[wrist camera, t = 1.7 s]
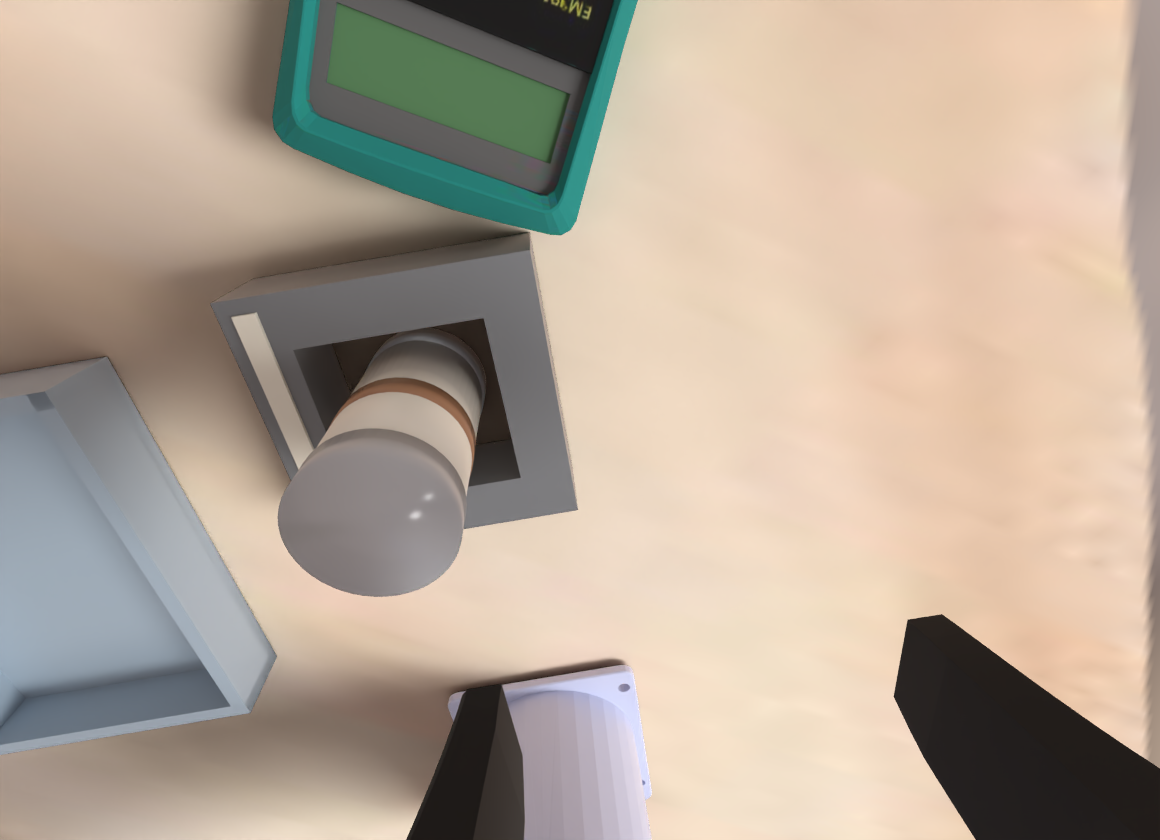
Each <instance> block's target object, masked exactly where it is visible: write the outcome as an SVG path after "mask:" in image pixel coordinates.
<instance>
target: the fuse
mask: <svg viewBox="0 0 1160 840" xmlns="http://www.w3.org/2000/svg"><path fill="white" fill-rule="evenodd" d="M485 393H486V377H485V372H484V369H483V366H482V364H481V361H480V359H479V358H478V356H477V355H476V353H475V352H474V351H473V350H472V349H471V348H470V347H469V346H468V345H467V344H466V343H465V342H464V341H462V340H461V339H459V338H458V337H456V336H454V335H452V334H450V333H448V332H445V331H442V330H438V329H433V328H421V329H415V330H409V331H403V332H400V333H398V334H396V335H394V336H392V337H391V338H389V339H388V340H387V341H386V342H385V343H384V344H383V345H382V346H381V347H380V348H379V350H378V351H377V352H376V354H375V355H374V357H373V358H372V360H371V361H370V363H369V365H368V367H367V368H366V371H365V374H364V375H363V377H362V378H361V380H360V381H359V383H358V385H357V386H356V388H355V389H354V391H353V392H352V394H351V395H350V397H349V398H348V399H347V400H346V401H345V403H344V404H343V405H342V407H341V408H340V410H339V411H338V413H337V414H336V416H335V417H334V419H333V420H332V422H331V424H330V426H329V428H328V430H327V432H326V433H325V435H324V437H323V438H322V440H321V441H320V443H319V444H318V446H317V447H316V448H315V449H314V450H313V451H312V452H311V453H310V454H309V456H308V457H307V458H306V460H305V461H304V462H303V464H302V465H301V467H300V468H299V470H298V472H297V473H296V475H295V476H294V478H293V479H292V481H291V482H290V484H289V485H288V487H287V488H286V490H285V492H284V494H283V496H282V498H281V501H280V505H279V510H278V526H279V531H280V535H281V538H282V540H283V543H284V545H285V547H286V548H287V550H288V552H289V553H290V555H291V556H292V557H293V559H294V560H295V561H296V562H297V563H298V564H299V565H300V566H301V567H302V568H303V569H304V570H305V571H306V572H308V573H309V574H310V575H311V576H313V577H315V578H316V579H318V580H319V581H321V582H323V583H325V584H327V585H329V586H331V587H333V588H336V589H339V590H341V591H345V592H348V593H352V594H357V595H363V596H374V597H383V596H395V595H401V594H405V593H409V592H412V591H415V590H418V589H420V588H422V587H425V586H427V585H429V584H430V583H432V582H433V581H435V580H436V579H438V578H439V577H440V576H441V575H442V574H444V572H445V571H446V570H447V569H448V568H449V567H450V566H451V564H452V563H453V561H454V560H455V558H456V556H457V554H458V551H459V548H460V544H461V540H462V533H463V527H464V521H465V515H466V507H467V502H466V496H467V490H468V484H469V478H470V475H471V471H472V467H473V461H474V455H475V448H476V436H477V431H478V425H479V419H480V415H481V413H482V409H483V405H484V399H485Z"/></svg>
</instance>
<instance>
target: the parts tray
mask: <svg viewBox="0 0 1160 840" xmlns="http://www.w3.org/2000/svg"><path fill="white" fill-rule="evenodd" d="M276 657H277V656H276V654H275V652H274V650H273V649H272V647H271V645H270V643H269V642H268V640H267V638H266V636H265V635H264V633H263V631H262V629H261V627H260V626H259V624H258V622H257V620H256V619H255V617H254V615H253V613H252V612H251V610H250V608H249V606H248V605H247V603H246V601H245V599H244V597H243V596H242V594H241V592H240V590H239V589H238V587H237V585H236V583H235V582H234V580H233V578H232V576H231V574H230V573H229V571H228V569H227V567H226V566H225V564H224V562H223V560H222V559H221V557H220V555H219V553H218V552H217V550H216V548H215V546H214V544H213V543H212V541H211V539H210V537H209V536H208V534H207V532H206V530H205V529H204V527H203V525H202V523H201V522H200V520H199V518H198V516H197V514H196V513H195V511H194V509H193V507H192V506H191V504H190V502H189V500H188V499H187V497H186V495H185V493H184V492H183V490H182V488H181V486H180V484H179V483H178V481H177V479H176V477H175V476H174V474H173V472H172V470H171V469H170V467H169V465H168V463H167V462H166V460H165V458H164V456H163V454H162V453H161V451H160V449H159V447H158V446H157V444H156V442H155V440H154V439H153V437H152V435H151V433H150V432H149V430H148V428H147V426H146V424H145V423H144V421H143V419H142V417H141V416H140V414H139V412H138V410H137V409H136V407H135V405H134V403H133V401H132V400H131V398H130V396H129V394H128V393H127V391H126V389H125V387H124V386H123V384H122V382H121V380H120V379H119V377H118V375H117V373H116V371H115V370H114V368H113V366H112V364H111V363H110V361H109V359H108V357H101V358H95V359H89V360H83V361H77V362H71V363H65V364H59V365H53V366H47V367H41V368H35V369H29V370H23V371H17V372H11V373H5V374H0V755H3V754H9V753H14V752H20V751H26V750H32V749H38V748H44V747H50V746H56V745H62V744H68V743H74V742H80V741H86V740H92V739H98V738H104V737H110V736H116V735H122V734H128V733H134V732H140V731H146V730H152V729H158V728H164V727H170V726H176V725H182V724H188V723H194V722H199V721H205V720H211V719H217V718H223V717H229V716H235V715H241V714H247V713H251V711H252V709H253V706H254V704H255V702H256V700H257V698H258V696H259V694H260V692H261V689H262V687H263V685H264V683H265V681H266V679H267V677H268V675H269V672H270V670H271V668H272V666H273V664H274V662H275V660H276Z"/></svg>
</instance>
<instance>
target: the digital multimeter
mask: <svg viewBox="0 0 1160 840" xmlns="http://www.w3.org/2000/svg"><path fill="white" fill-rule="evenodd" d="M637 1H638V0H290V3H289V10H288V16H287V23H286V29H285V36H284V43H283V49H282V56H281V63H280V69H279V76H278V82H277V89H276V96H275V102H274V109H273V116H272V117H273V124H274V130H275V131H276V133H277V134H278V136H279V137H280V139H281V140H282V142H284V143H286V144H287V145H289V146H290V147H292V148H294V149H296V150H298V151H301V152H303V153H305V154H308V155H310V156H312V157H315V158H317V159H319V160H322V161H324V162H326V163H329V164H331V165H333V166H336V167H338V168H341V169H343V170H345V171H348V172H350V173H353V174H355V175H358V176H360V177H363V178H365V179H368V180H370V181H373V182H375V183H378V184H381V185H383V186H386V187H388V188H391V189H393V190H396V191H398V192H401V193H404V194H407V195H410V196H413V197H416V198H419V199H422V200H425V201H428V202H431V203H434V204H437V205H440V206H443V207H446V208H449V209H452V210H456V211H460V212H463V213H467V214H471V215H474V216H478V217H482V218H485V219H489V220H493V221H496V222H500V223H504V224H508V225H512V226H517V227H521V228H525V229H529V230H533V231H537V232H542V233H546V234H550V235H562V234H564V233H566V232H568V231H570V230H571V228H572V227H573V225H574V223H575V222H576V219H577V216H578V212H579V208H580V205H581V201H582V197H583V194H584V190H585V186H586V183H587V179H588V175H589V172H590V168H591V164H592V161H593V157H594V153H595V150H596V146H597V142H598V139H599V135H600V132H601V128H602V124H603V121H604V117H605V113H606V110H607V106H608V102H609V99H610V95H611V91H612V88H613V84H614V80H615V77H616V73H617V69H618V66H619V62H620V58H621V55H622V51H623V47H624V44H625V41H626V37H627V34H628V31H629V27H630V24H631V21H632V17H633V14H634V11H635V8H636V4H637ZM518 186H519V187H518ZM521 187H522V188H521ZM524 188H525V189H524ZM526 189H527V190H526ZM529 190H530V191H529ZM532 191H533V192H532ZM534 192H536V193H534ZM537 193H539V194H537ZM540 194H542V195H540Z"/></svg>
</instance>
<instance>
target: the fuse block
mask: <svg viewBox="0 0 1160 840" xmlns="http://www.w3.org/2000/svg"><path fill="white" fill-rule="evenodd" d="M210 304H211V307H212V309H213V311H214V313H215V315H216V318H217V320H218V322H219V324H220V326H221V329H222V331H223V333H224V335H225V337H226V340H227V342H228V344H229V346H230V348H231V350H232V353H233V355H234V357H235V359H236V361H237V364H238V366H239V368H240V370H241V372H242V375H243V377H244V379H245V381H246V383H247V386H248V388H249V390H250V392H251V394H252V396H253V399H254V401H255V403H256V405H257V407H258V410H259V412H260V414H261V416H262V418H263V421H264V423H265V425H266V427H267V429H268V432H269V434H270V436H271V438H272V440H273V442H274V445H275V447H276V449H277V451H278V453H279V456H280V458H281V460H282V462H283V464H284V467H285V469H286V471H287V473H288V475H289V478H290V480H291V481H292V479H293V478H294V476H295V475H296V473H297V472H298V470H299V468H300V467H301V465H302V464H303V462H304V461H305V460H306V458H307V457H308V456H309V454H310V453H311V452H312V451H313V450H314V449H315V448H316V447H317V446H318V444H319V443H320V441H321V440H322V438H323V437H324V435H325V433H326V432H327V430H328V428H329V426H330V424H331V422H332V420H333V419H334V417H335V416H336V414H337V413H338V411H339V410H340V408H341V407H342V405H343V404H344V403H345V401H346V400H347V399H348V398H349V397H350V392H349V389H348V386H347V384H346V381H345V378H344V375H343V373H342V370H341V367H340V365H339V362H338V359H337V356H336V354H335V351H334V348H333V346H332V343H338V342H344V341H350V340H356V339H361V338H367V337H373V336H379V335H385V334H391V333H397V332H403V331H409V330H415V329H421V328H427V327H433V326H439V325H445V324H451V323H457V322H463V321H469V320H475V319H481V318H484V322H485V326H486V331H487V335H488V339H489V344H490V348H491V352H492V356H493V361H494V365H495V369H496V374H497V378H498V382H499V386H500V391H501V395H502V399H503V404H504V408H505V412H506V416H507V421H508V425H509V429H510V434H511V438H512V439H509V440H503V441H498V442H492V443H486V444H480V445H476V448H475V455H474V461H473V467H472V471H471V475H470V478H469V484H468V490H467V496H466V502H467V507H466V515H465V521H464V527H463V529H467V528H473V527H479V526H485V525H491V524H497V523H503V522H509V521H515V520H521V519H527V518H533V517H539V516H545V515H551V514H557V513H563V512H569V511H575V510H578V508H577V500H576V492H575V483H574V475H573V467H572V462H571V456H570V451H569V445H568V440H567V434H566V429H565V423H564V418H563V412H562V407H561V401H560V396H559V390H558V385H557V379H556V374H555V368H554V363H553V357H552V352H551V346H550V341H549V335H548V330H547V324H546V319H545V313H544V308H543V302H542V297H541V291H540V286H539V280H538V274H537V269H536V263H535V258H534V252H533V247H532V241H531V236H530V233H524V234H518V235H512V236H506V237H500V238H494V239H488V240H482V241H476V242H470V243H464V244H458V245H453V246H447V247H441V248H435V249H429V250H423V251H417V252H411V253H405V254H399V255H393V256H387V257H381V258H375V259H369V260H363V261H357V262H351V263H345V264H339V265H333V266H327V267H321V268H315V269H309V270H303V271H297V272H291V273H285V274H279V275H273V276H267V277H261V278H255V279H252V280H250V281H248V282H246V283H245V284H243V285H241V286H239V287H238V288H236V289H234V290H233V291H231V292H229V293H227V294H226V295H224V296H222V297H220V298H219V299H217V300H215V301H213V302H212V303H210Z"/></svg>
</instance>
